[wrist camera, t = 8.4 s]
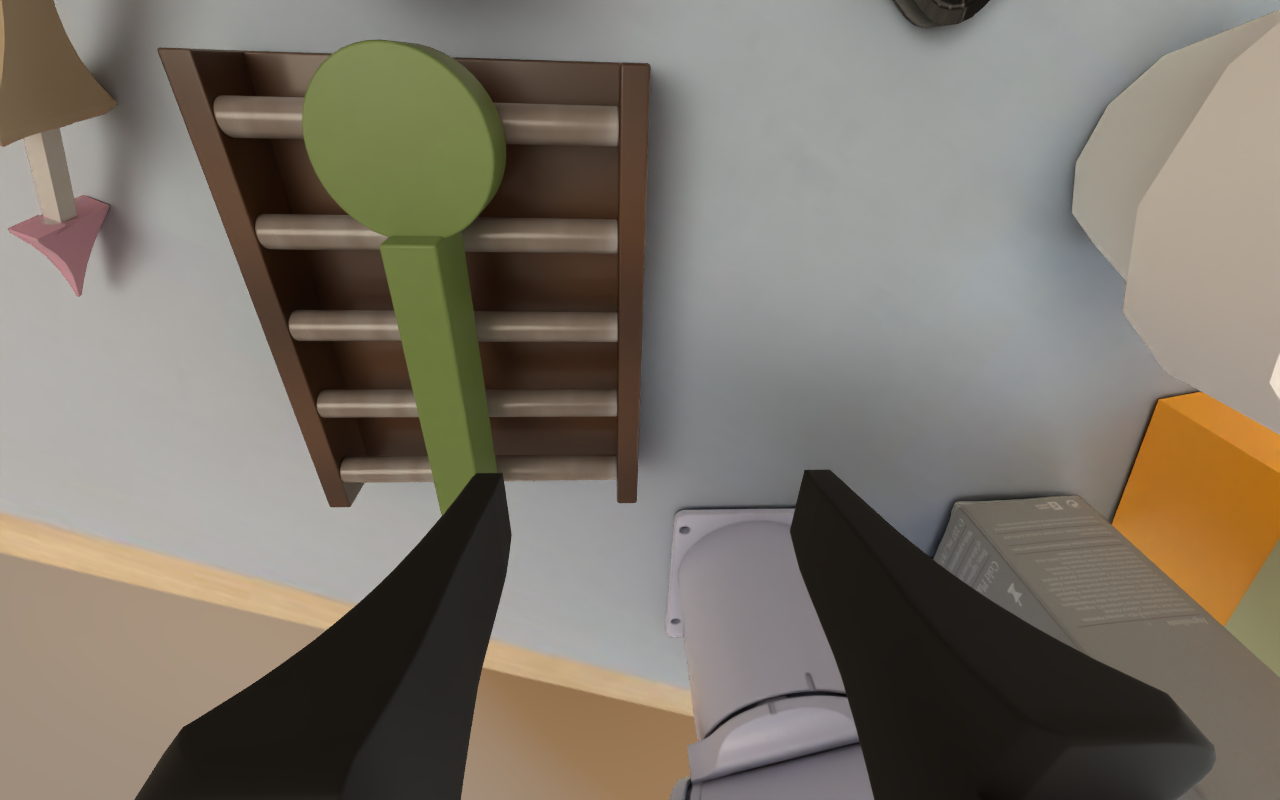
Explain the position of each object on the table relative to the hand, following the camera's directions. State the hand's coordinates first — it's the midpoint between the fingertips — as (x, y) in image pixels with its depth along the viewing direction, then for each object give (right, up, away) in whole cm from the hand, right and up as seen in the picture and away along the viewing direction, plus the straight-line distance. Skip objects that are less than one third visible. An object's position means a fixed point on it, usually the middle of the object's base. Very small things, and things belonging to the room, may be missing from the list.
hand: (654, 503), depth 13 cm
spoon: (-6, +5, +4) cm, 9 cm away
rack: (-6, +6, +7) cm, 11 cm away
